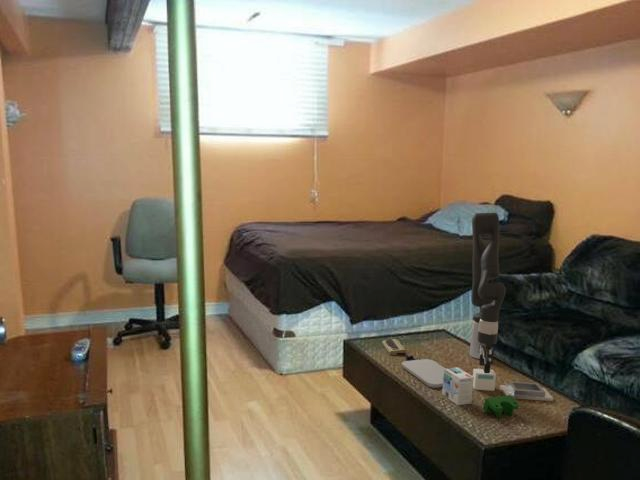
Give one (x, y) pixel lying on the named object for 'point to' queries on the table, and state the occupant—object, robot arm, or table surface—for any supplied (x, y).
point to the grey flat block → (526, 391)
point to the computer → (394, 347)
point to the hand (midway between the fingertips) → (484, 369)
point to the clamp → (500, 405)
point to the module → (484, 380)
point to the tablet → (426, 371)
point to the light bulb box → (457, 386)
